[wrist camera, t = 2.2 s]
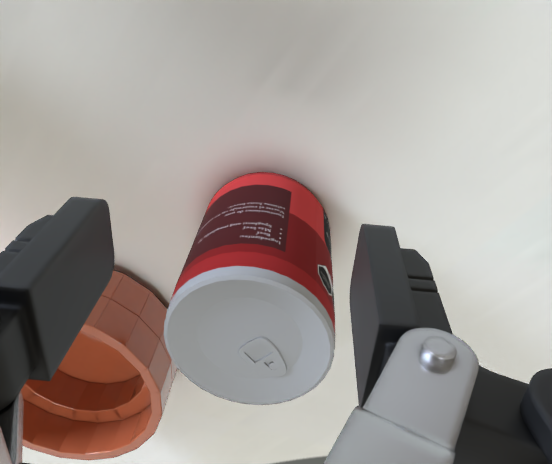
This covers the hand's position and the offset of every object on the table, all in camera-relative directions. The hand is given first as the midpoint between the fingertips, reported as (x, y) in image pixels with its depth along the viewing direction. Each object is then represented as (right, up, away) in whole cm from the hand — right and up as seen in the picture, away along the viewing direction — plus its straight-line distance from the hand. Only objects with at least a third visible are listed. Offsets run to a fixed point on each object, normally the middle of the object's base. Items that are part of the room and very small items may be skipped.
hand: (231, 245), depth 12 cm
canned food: (+1, +1, +20) cm, 20 cm away
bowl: (-13, -7, +26) cm, 29 cm away
